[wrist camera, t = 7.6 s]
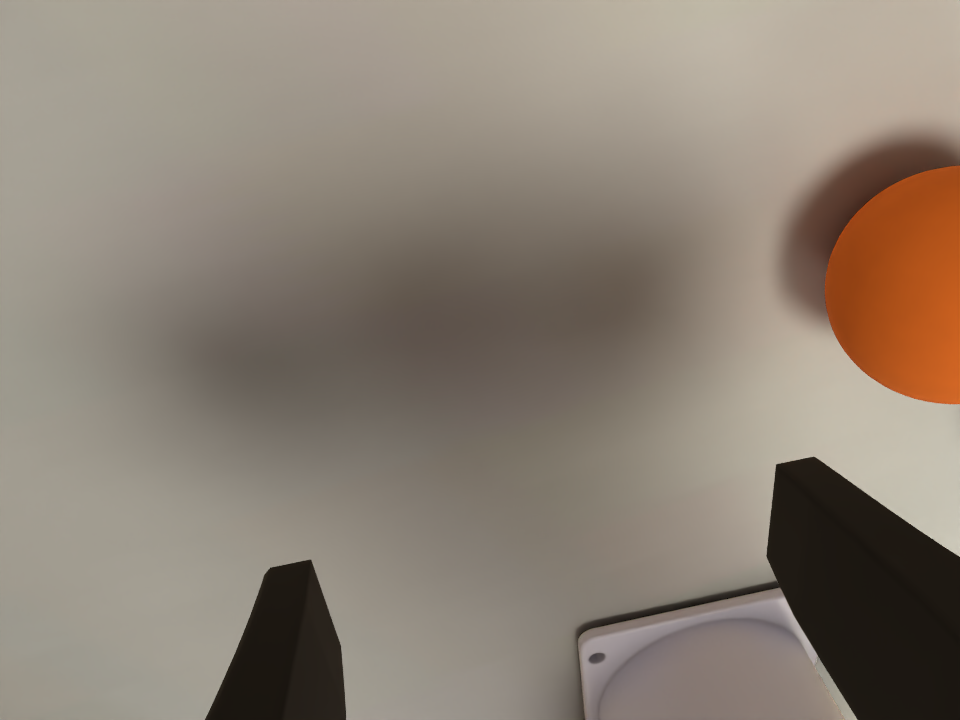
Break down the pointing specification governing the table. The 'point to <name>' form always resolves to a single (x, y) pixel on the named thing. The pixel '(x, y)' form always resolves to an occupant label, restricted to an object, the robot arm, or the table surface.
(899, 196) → the ball
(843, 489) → the robot arm
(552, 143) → the table surface
